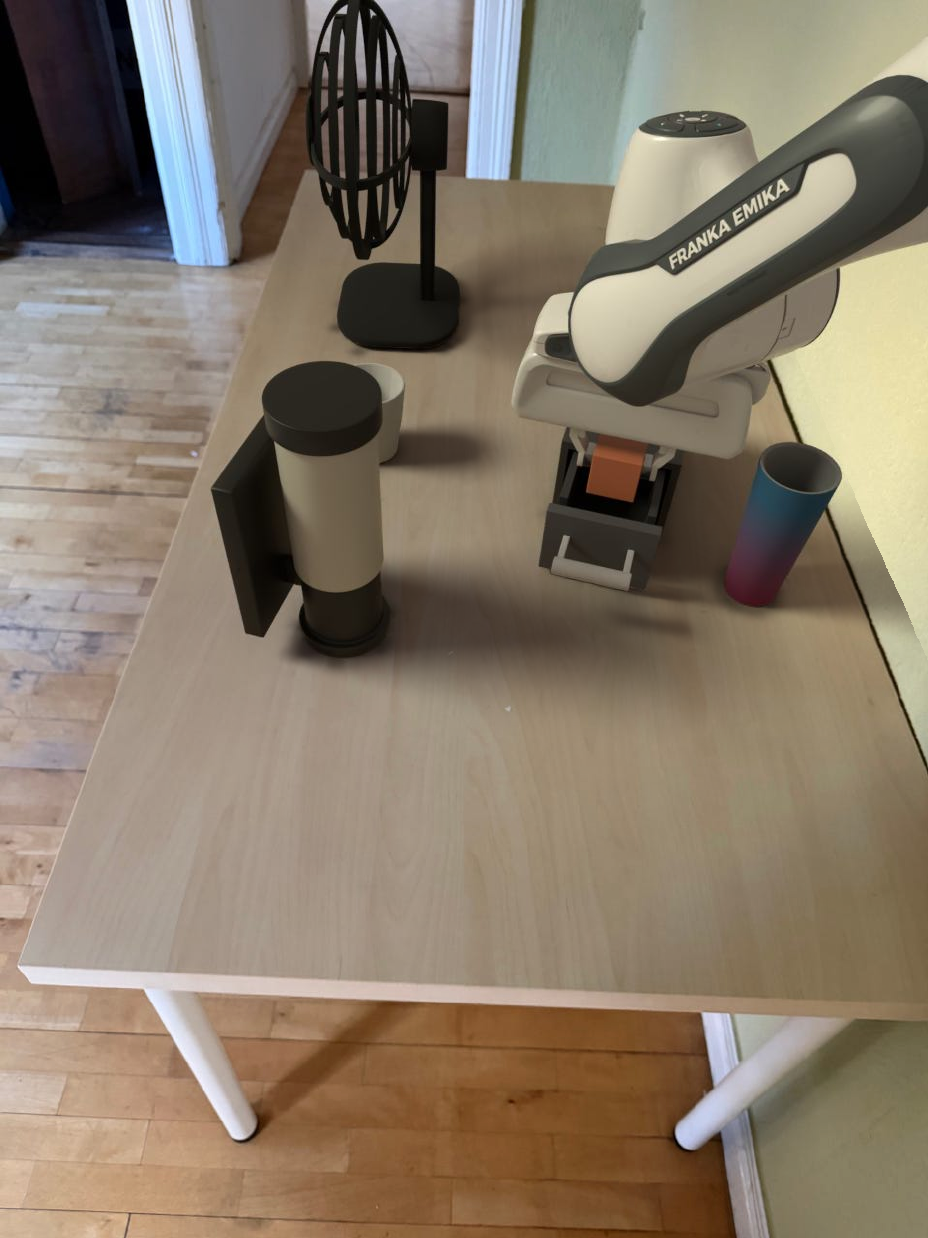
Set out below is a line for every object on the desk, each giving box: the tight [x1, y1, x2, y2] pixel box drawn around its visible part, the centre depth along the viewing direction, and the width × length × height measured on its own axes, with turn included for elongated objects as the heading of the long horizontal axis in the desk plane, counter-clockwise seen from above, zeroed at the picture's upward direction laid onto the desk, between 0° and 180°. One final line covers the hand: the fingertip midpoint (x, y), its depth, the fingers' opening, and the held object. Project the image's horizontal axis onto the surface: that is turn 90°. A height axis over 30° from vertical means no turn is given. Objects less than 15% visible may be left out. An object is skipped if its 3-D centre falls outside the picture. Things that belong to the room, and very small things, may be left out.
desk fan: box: [305, 0, 461, 350], centre depth 102 cm, size 27×18×35 cm, turn 179°
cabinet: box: [551, 427, 686, 536], centre depth 91 cm, size 15×12×9 cm
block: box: [586, 434, 648, 502], centre depth 80 cm, size 4×4×4 cm
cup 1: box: [353, 362, 406, 464], centre depth 93 cm, size 8×10×8 cm
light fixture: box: [210, 360, 391, 658], centre depth 71 cm, size 12×11×25 cm
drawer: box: [538, 450, 666, 592], centre depth 84 cm, size 18×10×7 cm, turn 164°
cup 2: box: [723, 441, 843, 608], centre depth 79 cm, size 7×7×15 cm
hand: (615, 469), depth 80 cm, fingers closed on block, 4 cm apart
